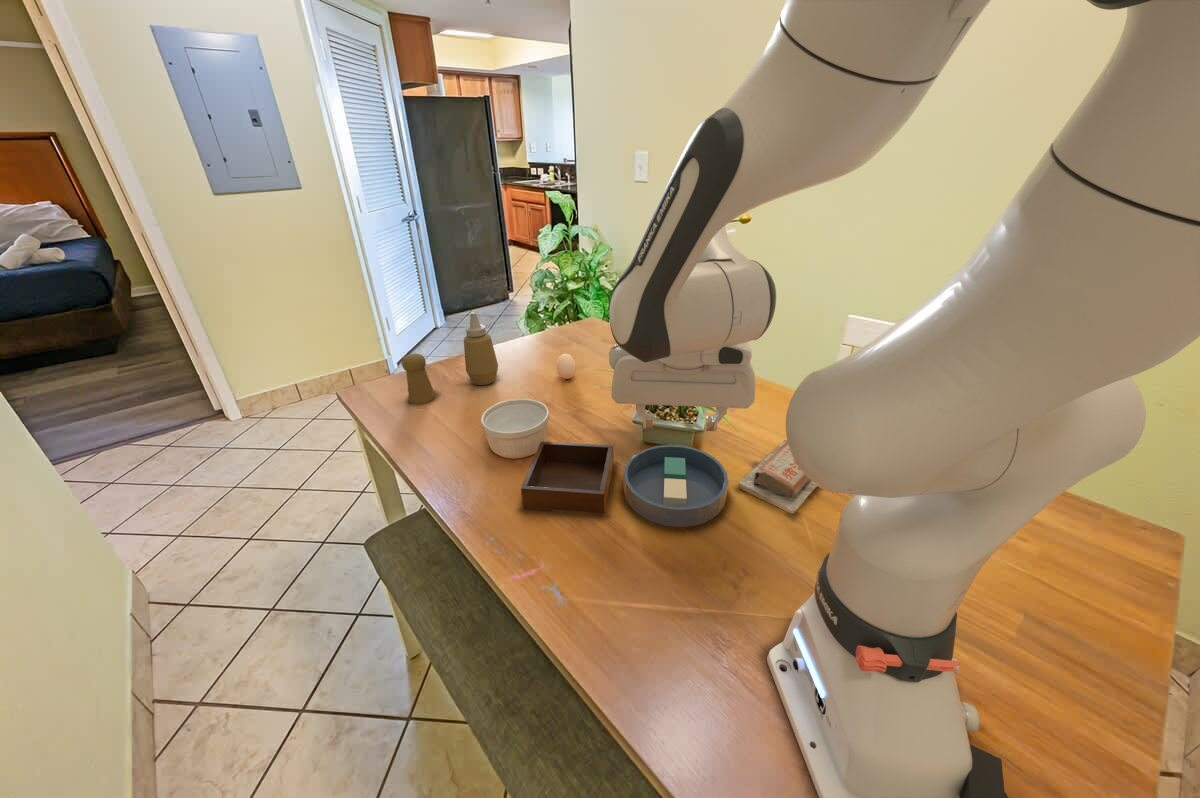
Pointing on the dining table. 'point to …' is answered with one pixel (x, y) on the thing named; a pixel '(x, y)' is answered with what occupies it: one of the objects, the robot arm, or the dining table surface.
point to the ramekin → (516, 427)
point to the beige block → (675, 492)
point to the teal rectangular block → (674, 468)
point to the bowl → (701, 485)
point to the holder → (568, 478)
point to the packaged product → (779, 480)
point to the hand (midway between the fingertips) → (679, 427)
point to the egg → (566, 366)
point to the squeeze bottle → (479, 353)
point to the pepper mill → (417, 379)
